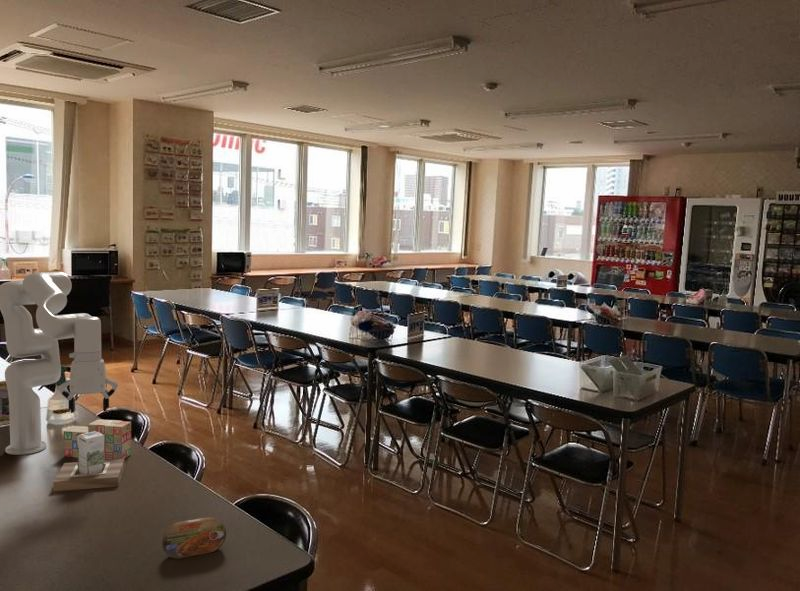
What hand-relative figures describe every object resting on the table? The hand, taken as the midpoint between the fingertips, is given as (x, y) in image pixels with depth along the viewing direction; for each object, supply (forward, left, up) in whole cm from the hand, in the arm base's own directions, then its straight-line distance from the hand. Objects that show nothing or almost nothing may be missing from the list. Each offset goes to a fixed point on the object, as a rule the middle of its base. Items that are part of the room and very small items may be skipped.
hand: (89, 410), depth 203 cm
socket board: (0, 0, -22) cm, 22 cm away
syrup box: (0, 0, -22) cm, 22 cm away
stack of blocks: (-22, -1, -22) cm, 31 cm away
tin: (+56, +32, -22) cm, 68 cm away
